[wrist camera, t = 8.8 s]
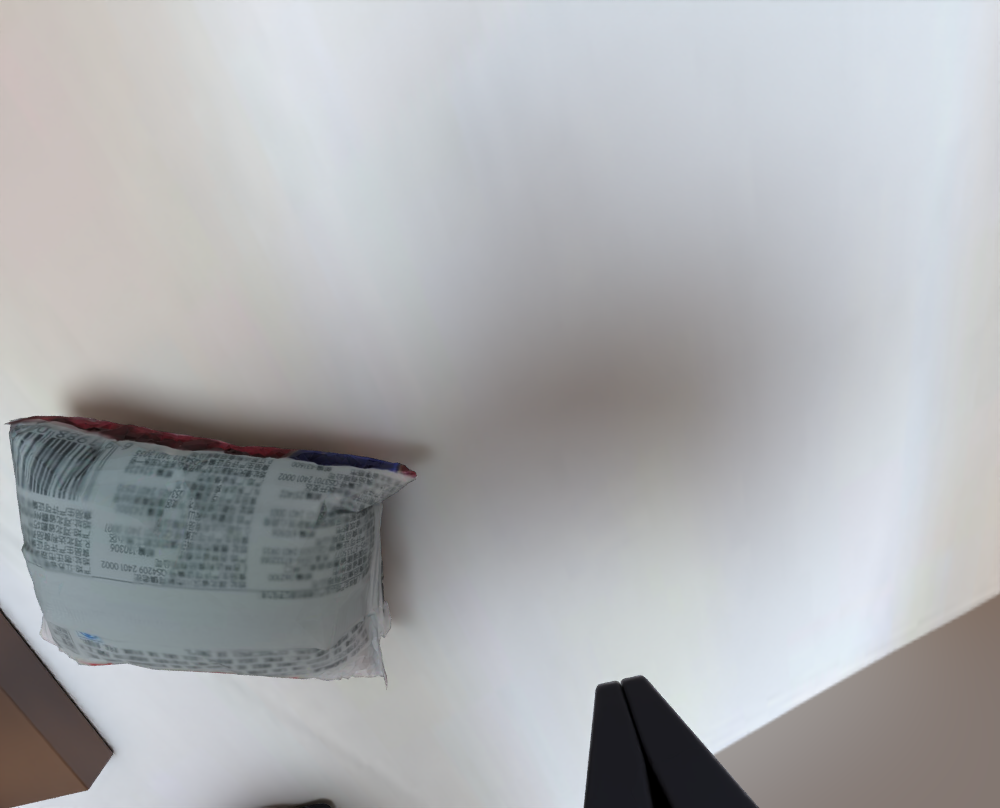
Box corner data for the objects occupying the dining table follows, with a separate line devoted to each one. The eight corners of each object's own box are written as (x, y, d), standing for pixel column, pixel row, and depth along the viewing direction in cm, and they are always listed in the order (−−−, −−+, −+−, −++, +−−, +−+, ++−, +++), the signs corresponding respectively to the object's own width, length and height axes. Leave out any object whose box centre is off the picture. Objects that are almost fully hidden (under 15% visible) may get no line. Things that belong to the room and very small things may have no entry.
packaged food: (397, 629, 19) (372, 753, 15) (84, 597, 18) (-50, 721, 13) (425, 434, 17) (406, 511, 12) (59, 380, 15) (-120, 442, 11)
